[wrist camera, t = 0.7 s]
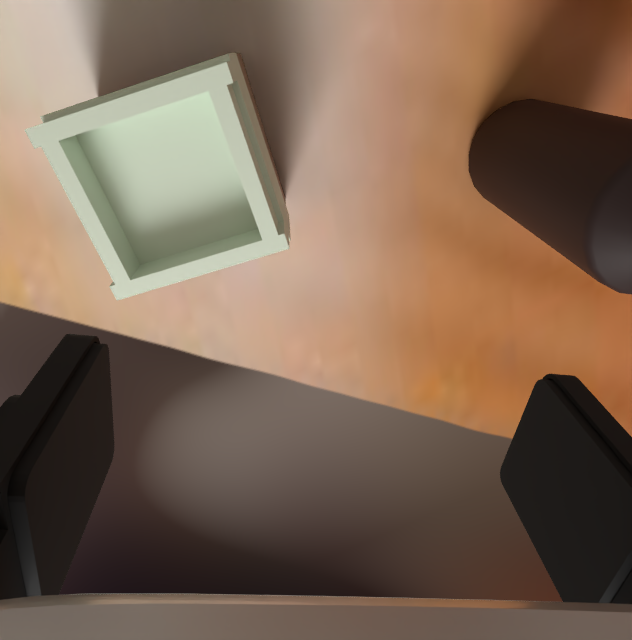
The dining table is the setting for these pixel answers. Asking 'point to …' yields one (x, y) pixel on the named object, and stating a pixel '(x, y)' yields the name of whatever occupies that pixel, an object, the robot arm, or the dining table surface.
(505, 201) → the vinegar
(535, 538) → the robot arm
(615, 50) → the dining table surface
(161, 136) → the small green shelf
